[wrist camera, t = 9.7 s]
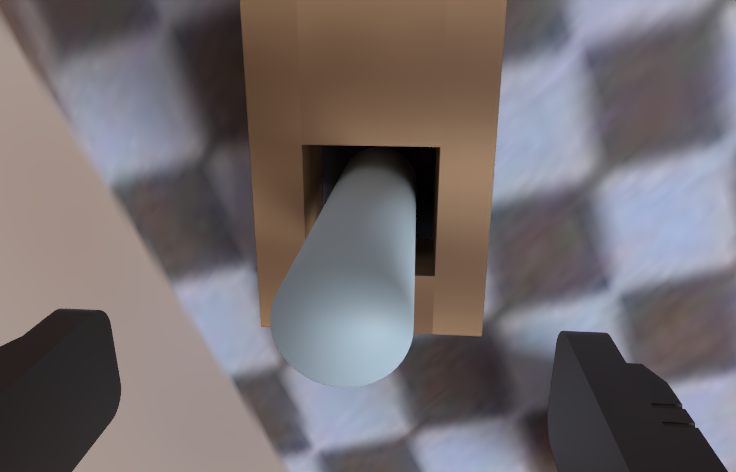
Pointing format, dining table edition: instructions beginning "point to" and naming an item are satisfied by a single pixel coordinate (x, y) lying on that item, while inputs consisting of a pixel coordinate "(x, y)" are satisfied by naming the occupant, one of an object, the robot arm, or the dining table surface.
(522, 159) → the dining table surface
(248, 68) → the socket block
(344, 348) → the peg
